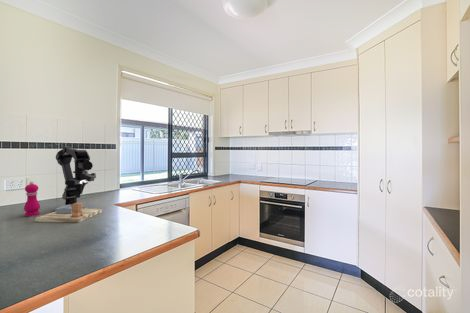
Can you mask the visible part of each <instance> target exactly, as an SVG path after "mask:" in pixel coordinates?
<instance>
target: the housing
mask: <svg viewBox="0 0 470 313" xmlns="http://www.w3.org/2000/svg"><path fill="white" fill-rule="evenodd" d="M55 211H56V214H72V205H62V206H59V207H56V208H55Z"/></svg>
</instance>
